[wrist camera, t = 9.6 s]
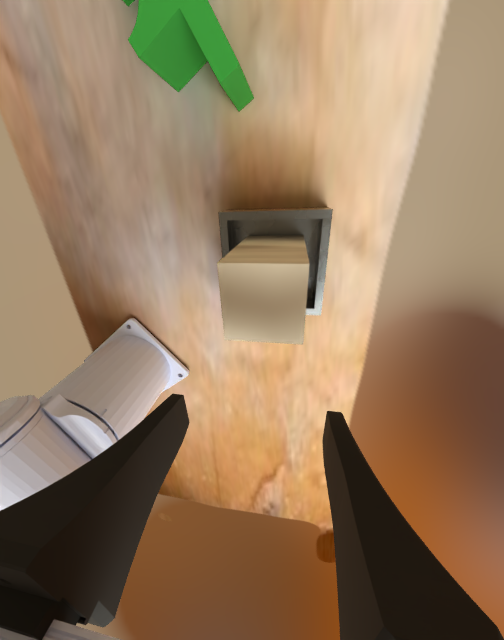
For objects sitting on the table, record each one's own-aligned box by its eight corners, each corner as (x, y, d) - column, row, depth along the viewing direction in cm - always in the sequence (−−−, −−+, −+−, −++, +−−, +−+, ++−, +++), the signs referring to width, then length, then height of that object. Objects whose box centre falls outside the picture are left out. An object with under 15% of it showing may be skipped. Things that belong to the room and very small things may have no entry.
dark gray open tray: (318, 301, 20) (320, 315, 18) (234, 299, 21) (227, 311, 19) (327, 207, 17) (332, 209, 14) (228, 209, 18) (218, 212, 15)
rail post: (300, 288, 19) (303, 344, 12) (249, 287, 20) (224, 340, 13) (303, 235, 17) (309, 263, 10) (248, 235, 18) (217, 263, 11)
